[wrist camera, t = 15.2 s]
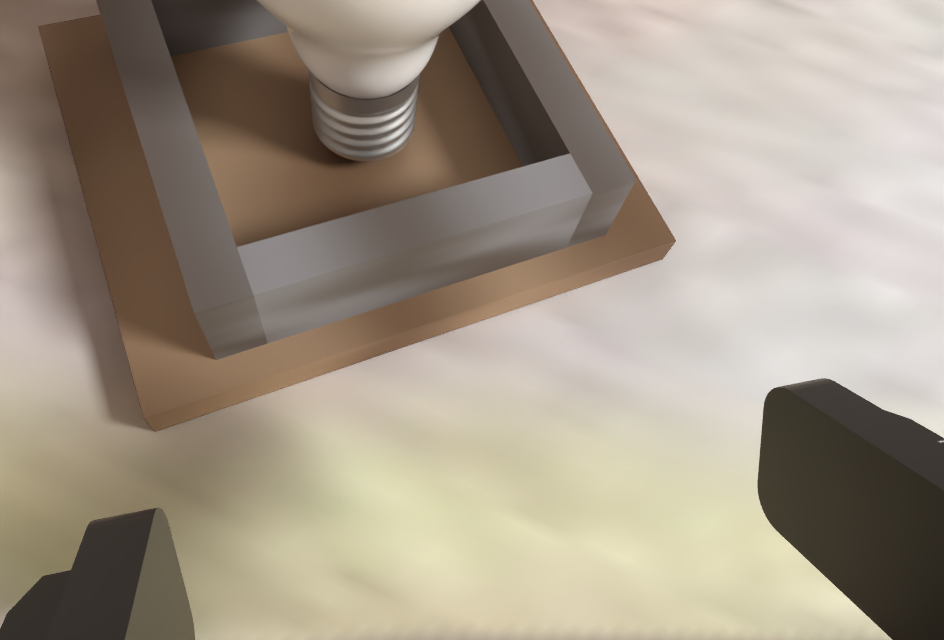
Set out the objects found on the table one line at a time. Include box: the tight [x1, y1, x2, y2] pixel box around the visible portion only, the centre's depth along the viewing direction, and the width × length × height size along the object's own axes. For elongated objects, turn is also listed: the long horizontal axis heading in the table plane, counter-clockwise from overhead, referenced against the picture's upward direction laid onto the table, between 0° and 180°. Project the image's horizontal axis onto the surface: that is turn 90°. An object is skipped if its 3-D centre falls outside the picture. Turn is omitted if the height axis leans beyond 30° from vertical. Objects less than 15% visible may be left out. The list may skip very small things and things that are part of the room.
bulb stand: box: [38, 0, 676, 431], centre depth 20 cm, size 14×12×4 cm
